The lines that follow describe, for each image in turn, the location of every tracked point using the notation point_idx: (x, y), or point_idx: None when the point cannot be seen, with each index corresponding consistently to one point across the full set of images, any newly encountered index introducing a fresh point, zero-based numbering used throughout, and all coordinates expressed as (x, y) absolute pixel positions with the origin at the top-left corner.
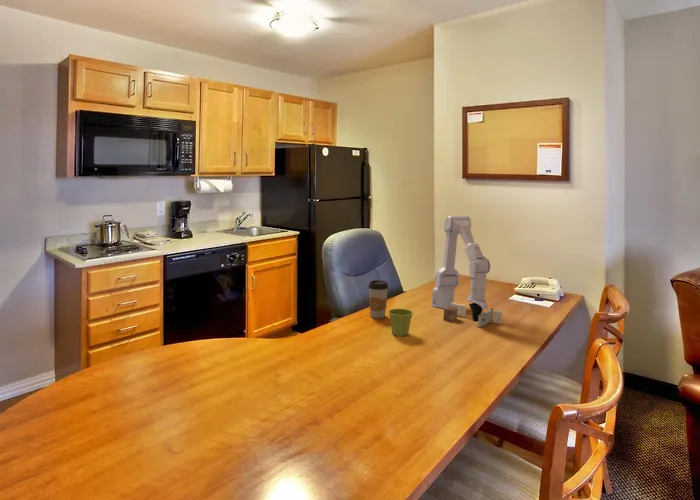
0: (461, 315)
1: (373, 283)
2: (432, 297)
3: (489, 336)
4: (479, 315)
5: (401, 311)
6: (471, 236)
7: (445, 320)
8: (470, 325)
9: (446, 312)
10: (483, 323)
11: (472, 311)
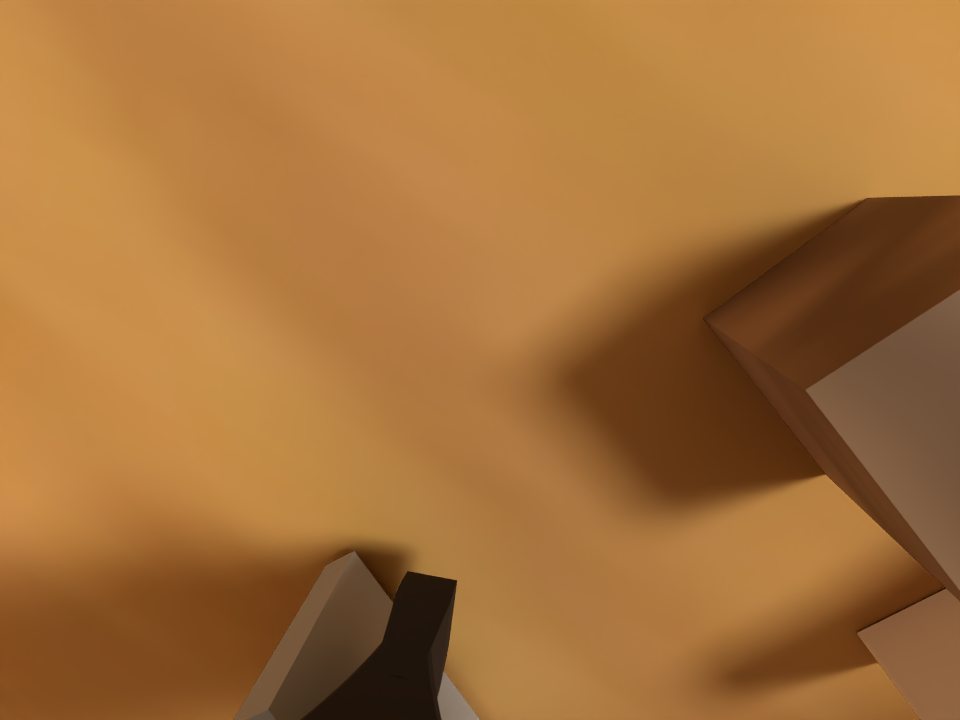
0: (917, 621)
1: None
2: None
3: (13, 477)
4: (256, 709)
5: None
6: None
7: (829, 227)
8: (456, 495)
9: (933, 247)
10: None
11: (373, 704)
